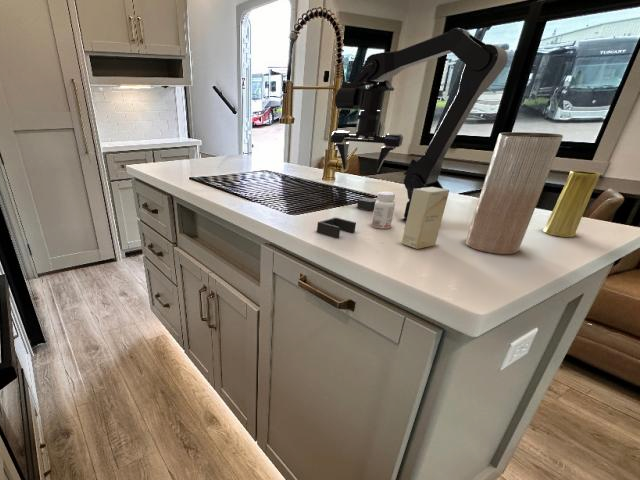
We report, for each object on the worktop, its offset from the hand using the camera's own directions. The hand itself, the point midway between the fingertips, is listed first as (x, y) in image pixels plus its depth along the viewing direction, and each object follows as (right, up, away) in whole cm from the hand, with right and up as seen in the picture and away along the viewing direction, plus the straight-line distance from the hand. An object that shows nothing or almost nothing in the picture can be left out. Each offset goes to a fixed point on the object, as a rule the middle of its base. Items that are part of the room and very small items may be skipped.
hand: (360, 170), depth 105 cm
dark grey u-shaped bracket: (-11, -21, -16) cm, 29 cm away
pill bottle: (+1, -19, -12) cm, 22 cm away
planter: (+20, -26, -25) cm, 42 cm away
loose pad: (+4, -10, +5) cm, 11 cm away
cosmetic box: (+5, -25, -24) cm, 35 cm away
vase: (+43, -22, -17) cm, 51 cm away
